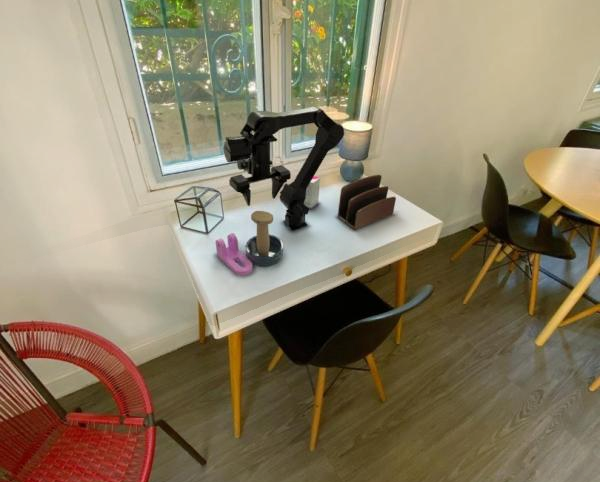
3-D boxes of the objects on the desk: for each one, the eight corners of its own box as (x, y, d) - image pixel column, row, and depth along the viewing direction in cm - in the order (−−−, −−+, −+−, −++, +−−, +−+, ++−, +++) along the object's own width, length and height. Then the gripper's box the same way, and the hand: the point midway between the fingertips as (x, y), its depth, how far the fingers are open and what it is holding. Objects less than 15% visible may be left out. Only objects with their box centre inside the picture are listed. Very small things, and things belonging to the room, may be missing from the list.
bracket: (217, 255, 105) (214, 238, 101) (232, 248, 108) (230, 231, 104) (240, 277, 97) (239, 259, 93) (256, 269, 100) (255, 251, 96)
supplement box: (318, 203, 133) (320, 177, 126) (311, 209, 128) (312, 183, 122) (306, 198, 135) (307, 173, 128) (298, 205, 131) (299, 179, 124)
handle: (269, 262, 102) (268, 222, 93) (250, 257, 104) (248, 217, 95) (276, 253, 106) (275, 214, 97) (258, 248, 108) (256, 209, 99)
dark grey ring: (271, 239, 112) (271, 230, 110) (290, 259, 104) (290, 249, 102) (240, 251, 107) (239, 241, 105) (257, 272, 99) (256, 262, 97)
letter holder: (336, 217, 125) (340, 183, 117) (374, 203, 134) (380, 171, 126) (354, 230, 118) (360, 196, 110) (393, 214, 128) (400, 182, 120)
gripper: (273, 142, 108) (273, 184, 117) (219, 152, 99) (223, 198, 108) (292, 154, 101) (290, 198, 110) (236, 166, 92) (239, 214, 100)
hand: (261, 201), depth 107 cm, fingers open, 9 cm apart
